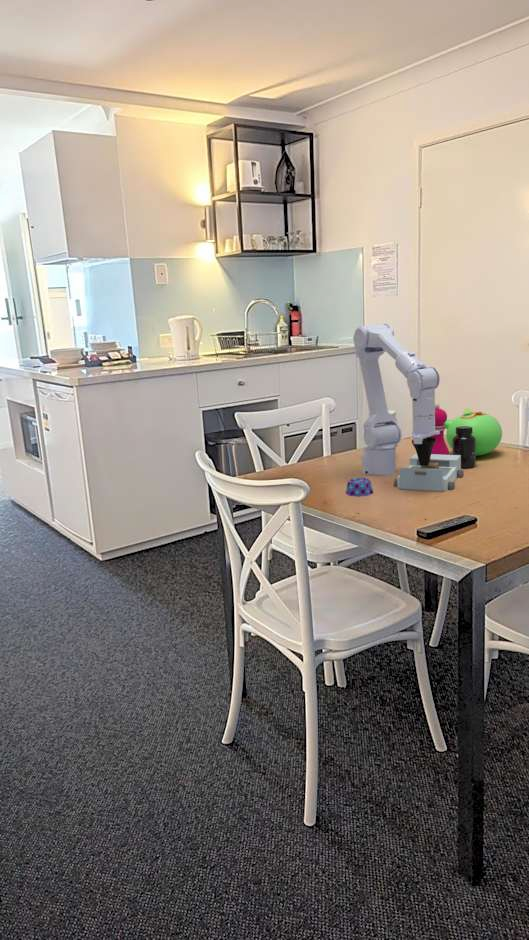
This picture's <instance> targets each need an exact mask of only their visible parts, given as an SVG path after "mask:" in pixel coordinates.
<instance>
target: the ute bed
mask: <svg viewBox="0 0 529 940" xmlns="http://www.w3.org/2000/svg"><path fill="white" fill-rule="evenodd" d="M430 462H433V463H439V469H443V488H442V490H443V492H447V491H453V490H454V489H455V488H456V483H455V481H456V479H462V478H463V477H464V474H465V473H464V470H462V468H461V455H452V454H449V455H440V454H431V457H430ZM407 468H421V466H420V464H419V460H418V456H417V453H414V454H413V455H411V457H410V458H409V466H408V467H407ZM399 487H400V474H399V475H398V476H397V477H396V478H394V482H393V488H397V489H399Z"/></svg>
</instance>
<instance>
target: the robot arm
mask: <svg viewBox="0 0 529 940" xmlns="http://www.w3.org/2000/svg"><path fill="white" fill-rule="evenodd" d="M352 339H353V344H354V349H355V354H356V357H357V358H358V359H359V365H360V370H361V375H362V381H363V386H364V390H365V396H366V401H367V406H368V411H369V413H370V417H369V416H368V417H367V419H366V420H365V421H364V423H363V424H362V425H363V440H364V443H365V445H366V446H365V447H364V448H363V450H362V452H361V453H362V454H361V466H362V467H361V469H362V473H361V474H363V475H375V476H390V475H393V474H396V472H397V459H396V457H397V456H396V455H397V453H396V452H395V447H396V448H397V447H398V446H399V445H398V444H399V443H400V442H401V440H402V429H401V427H400V425H399V423H398V419H397V416H396V417H394V416H393V415H391V414H390V413H388V411H389V410H388V404H387V400H386V394H385V389H384V385H383V378H382V374H381V369H380V363H379V359H380V357H381V356H382V355H384V354H385V352H386V353H387V354H388V355H389V356H390V357H391V358H392V359H394V360H395V363H394V364H395V367H396V368H397V369H398V371H399V372H400V373H401V374H402V375H403V376H404V377H405V378H406V383H407V384H406V385H407V387H408V389H409V393H410V394H409V396H410V398H411V399H412V400H411V401H412V402H411V403H412V431H411V435H412V437H413V438H412V440H411V443H412V446H413V447H414V449H415V451H416V454H417V456H418V460H419V464H420V466H428V465H429V462H430V457H431V452H432V448H433V446H434V443H435V441H436V437H430V436H433V435H438V434H440V431H436V430H435V404H436V397H435V396H436V395H435V393H436V389H437V388H438V387H439V385H440V374H439V371H438V370H437V368H436V367H434V366H429V365H426V364H425V363H424V362H423V361H421V360H420V359H419V357H418V356H417V355H416V353H415V352H414V351H411V350H405V349H404V348H403V346H402V345H401V343H400V342H399V341H398V340H397V338H396V337H395V330H394V328H393V327H391V325H390V324H388V323H383V324H375V325H359V326H357V327H356V329H355V331H354V334H353V337H352ZM377 424H385V425H379V426H375V425H377Z"/></svg>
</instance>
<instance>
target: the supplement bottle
mask: <svg viewBox="0 0 529 940" xmlns="http://www.w3.org/2000/svg"><path fill="white" fill-rule="evenodd" d="M455 433H456V436H454V437H453V439H452V448H451V451H452V452H451V453H452V454H451V455H461V469H471V468H474V467H475V466H476V458H477V456H476V438H475V437H474V436H473V435H472V433H473V431H472V427H470V426H459V427H456V432H455Z"/></svg>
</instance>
